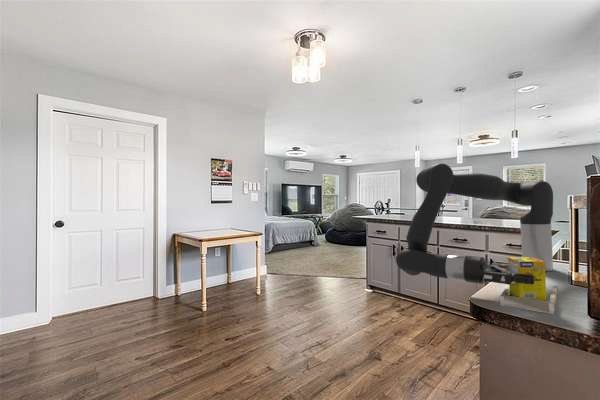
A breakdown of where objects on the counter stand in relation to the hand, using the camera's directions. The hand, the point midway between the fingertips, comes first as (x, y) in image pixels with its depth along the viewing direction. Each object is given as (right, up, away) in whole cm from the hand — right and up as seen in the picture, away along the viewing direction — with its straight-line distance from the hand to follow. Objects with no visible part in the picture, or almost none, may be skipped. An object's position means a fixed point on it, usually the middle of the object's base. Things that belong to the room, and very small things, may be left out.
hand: (535, 276), depth 77 cm
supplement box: (-1, -7, +1) cm, 7 cm away
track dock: (+3, -7, +6) cm, 10 cm away
